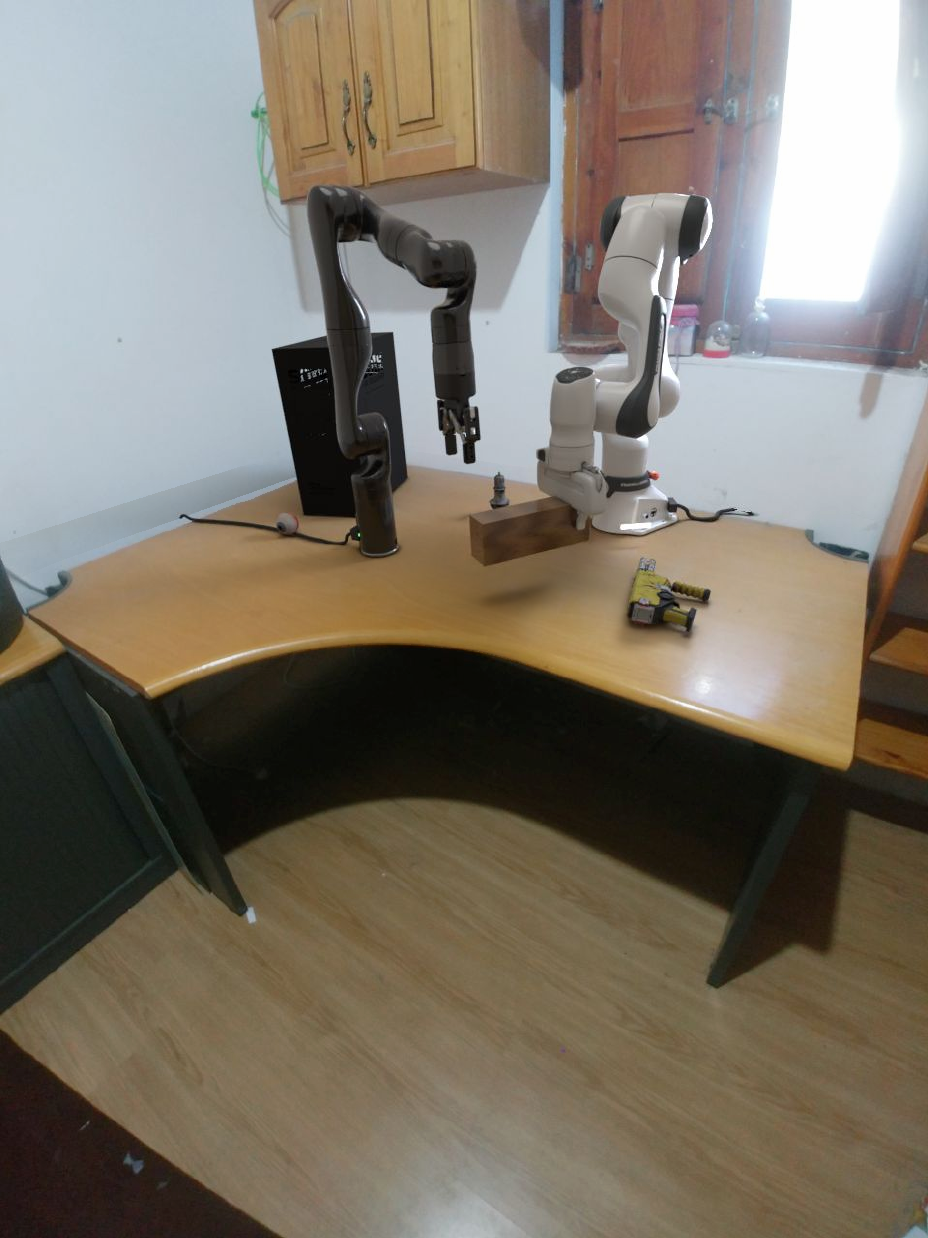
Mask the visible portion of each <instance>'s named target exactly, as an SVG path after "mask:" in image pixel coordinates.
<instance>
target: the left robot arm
mask: <svg viewBox="0 0 928 1238" xmlns="http://www.w3.org/2000/svg"><path fill="white" fill-rule="evenodd" d="M305 203H306V207H305V208H306V218H307V225H308V231H309V236H310V241H311V245H312V249H313V255H314V260H315V263H316V269H317V273H318V274H317V275H318V280H319V285H320V293H321V300H322V307H323V315H324V316H323V317H324V327H325V333H326V335H327V342H328V348H329V354H330V360H331V368H332V375H333V384H334V396H335V416H336V431H337V438H338V443H339V446H340V449H341V451H342V453H343V454H344V456H345V457H347V458H348V459H356V458H361V457H365V456H367V457H366V459H365V461H364V462H363V464H362V465H361V466H360V467H358V468H357V469H356V470H355V471H353V473H352V474H351V482H352V488H353V495H354V502H355V508H356V513H355V516H354V517H355V523H356V524H355V525H354V526H353V527H351V528H350V529H349V532H346V534H345V535H344V536H345V537H344V540H343V541H340V542H339V541H338V542H337V541H331V540H329V539H328V540H327V539H325V538H320V537H315V536H311V535H308V534H303V533H300V532H297V531H296V532H294V533H292V534H291V536H295V537H298V538H299V537H300V538H303V539H306V540H308V541H309V540H310V541H313V542H319V543H324V544H327V545H335V546H345V545H347V544H348V542H349V537H350V540H351V541H354V542H358V544H359V549H360V551H361V554H362V555H364V556H367V557H369V558H370V557H371V558H381V557H386V556H390V555H392V554H395V553H396V552H397V551H398V550H399V548H400V547H399V541H398V535H397V525H396V524H397V523H396V518H395V517H396V516H395V506H394V499H393V493H392V490H391V482H390V474H391V457H390V440H389V432H388V428H387V424H386V422H385V420H384V418H383V417H382V416H381V415H380V414H379V413H377V412H369V413H364V414H359V415H357V396H358V391H359V387H360V385H361V382H362V379H363V377H364V374H365V372H366V370H367V367H368V364H369V362H370V358H371V355H372V340H371V333H372V331H371V330H372V329H371V320H370V316H369V314H368V311H367V309H366V307H365V305H364V303H363V302H362V300H361V298H360V297H359V295H358V293H357V292H356V291H355V289H354V287H353V286H352V284H351V282H350V281H349V279H348V277H347V275H346V272H345V269H344V266H343V261H342V258H341V252H340V247H339V246H340V245H339V244H346V243H347V244H350V243H355V242H364V243H365V242H366V243H370V244H374V245H375V247H376V249H377V251H378V253H379V254H380V255H381V256H382V257H383V258H384V259H385V260H387V261H388V262H390V263H391V264H393V265H394V266H397V267H399V268H401V269H403V270H405V271H407V273H408V274H409V275H410V276H411V277H412V278H413V279H414V280H415V281H416V282H417V283H418V284H419V285H421V286H423V287H425V288H428V289H432V290H443V289H446V291H445V292H446V293H445V297H444V301H443V302H442V303H440V304H439V305H435V306H434V307H433V308H431V310H430V314H429V319H430V320H429V321H430V322H429V323H430V333H431V343H432V344H431V345H432V347H431V348H432V352H431V360H432V361H431V362H432V369H433V383H434V393H435V394H434V395H435V397H436V408H437V422H438V423H437V424H438V431H439V432H441V433H442V436H443V437H444V447H445V455H447V456H456V455H457V454H458V442H457V441H458V440H457V435H456V434H458V435H459V436H460V439H461V442H462V445H461V446H462V458H463V459H462V460H463V464H465V465H471V464H475V463H476V461H477V459H476V458H477V456H476V443H477V442H479V441H481V438H482V437H481V423H480V414H479V413H480V412H479V411H480V410H479V407H478V406H477V405H475V406H471V405H470V398H471V397H472V398H473V397H475V395H476V394H477V385H476V370H475V354H474V347H473V342H472V327H471V325H472V324H471V310H472V306H473V302H474V301H473V300H474V294H475V288H476V281H477V274H478V263H477V258H476V254H475V251H474V249H473V248H472V246H471V245H470V243H468V242H467V241H466V240H462V239H434V238H433V236H432V235H431V233H430V232H429V231H427V230H426V229H425V228H422V226H419V225H417V224H414V223H412V222H410V221H407V220H406V219H403V218H400V217H398V216H396V215H394V214H392V213H390V212H389V211H387V210H386V209H384V208H383V207H382V206H380V205H379V204H377V203H376V202H375V201H374V200H373V199H371V198H370V197H369V196H368V195H367V194H365V193H364V192H362V191H361V190H359V189H358V188H356V187H354V186H351V185H339V184H338V185H337V184H314V185H313V186H311V187H310V188H309V190H308V192H307V196H306V202H305ZM366 373H367V372H366ZM183 518H185V519H186V520H189V521H190V522H191V521H192V522H198V523H214V524H215V523H216V524H226V525H227V524H228V525H238V526H246V527H253V528H260V529H267V530H272V531H277V532H280V531H279V530H278V529H277V527H276V526H272V525H265V524H260V523H253V522H245V521H236V520H225V519H212V518H197V517H196V518H195V517H191V516H189V515H188V514H186V513H182V514H180V515H179V516H178V519H179V520H181V519H183Z"/></svg>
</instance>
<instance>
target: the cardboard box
mask: <svg viewBox="0 0 928 1238" xmlns="http://www.w3.org/2000/svg"><path fill="white" fill-rule="evenodd" d="M371 340H372V355H371V358H370V362H369V364H368V367H367V370H366V372H365V374H364V377H363V379H362V382H361V385H360V387H359V391H358V396H357V415H359V414H364V413H369V412H377V413H379V414H380V415H381V416H382V417H383V418H384V420H385V422H386V424H387V428H388V432H389V440H390V457H391V474H390V482H391V490H392V494H393V493H394V492H395V491H396V490H397V489H398V488H399V487H400V486H401V485H402V484H403V483H404V482H405V481H406V480H407V479H408V478H409V476H408V466H407V465H408V464H407V456H406V455H407V454H406V447H405V437H404V436H405V435H404V427H403V425H404V424H403V416H402V415H403V414H402V407H401V397H400V386H399V375H398V367H397V357H396V345H395V335H394V331H383V332H381V331H380V332H371ZM271 354H272V359H273V365H274V370H275V374H276V380H277V385H278V389H279V394H280V395H279V396H280V400H281V405H282V410H283V416H284V421H285V426H286V432H287V436H288V441H289V447H290V452H291V456H292V461H293V467H294V473H295V477H296V484H297V487H298V493H299V497H300V503H301V508H302V513H303V515H304V516H334V517H355V513H356V508H355V502H354V495H353V488H352V482H351V474H352V473H353V471H355V470H356V469H357V468H358V467H360V466H361V465H362V464H363V462H364V461H365V459H366V457H367V456H365V457H361V458H356V459H348V458H347V457H345V456H344V454H343V453H342V451H341V449H340V446H339V443H338V438H337V431H336V416H335V396H334V384H333V375H332V368H331V360H330V354H329V348H328V342H327V334H326V335H323V336H319V337H315V338H311V339H306V340H303V341H297V342H295V343H290V344H286V345H281V346H278V347H274V348H271ZM378 361H379V362H378Z"/></svg>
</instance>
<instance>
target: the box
mask: <svg viewBox="0 0 928 1238" xmlns="http://www.w3.org/2000/svg"><path fill="white" fill-rule="evenodd" d="M577 518H578V514H577V509H575V508H573V507H571V504H569V503H567V502H565V501H563V500H561V499H559V498H557V497H556V496H553V497H551V496H548V497H543V498H540V499H534V500H530V501H525V502H521V503H515V504H511V505H509V506H506V507H502V508H497V509H489V510H484V511H483V510H482V511H479V512H475V513H470V514H468V522H469V539H470V540H469V541H470V556H471V558H473V559H474V560H475V561H477V562H478V563H479V564H480V565H481V566H483V567H490V566H493V565H497V564H502V563H505V562H511V561H514V560H517V559H523V558H525V557H529V556H530V557H531V556H533V555H538V554H542V553H545V552H549V551H553V550H557V549H561V548H565V547H569V546H572V545H576V544H577V545H578V544H582V543H585V542H589V541H590V529H591V516H588V518H587V519H586V521H585V528H584V529H582V530H578V529H576V528H574V520H577Z"/></svg>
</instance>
